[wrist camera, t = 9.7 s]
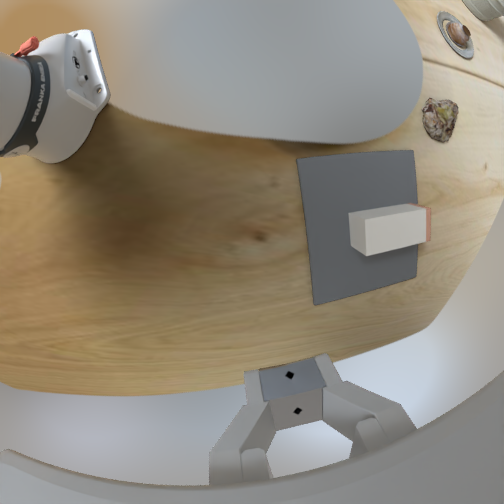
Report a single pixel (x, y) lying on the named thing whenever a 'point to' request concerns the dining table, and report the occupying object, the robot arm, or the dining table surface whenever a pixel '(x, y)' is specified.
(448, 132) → the mineral rock
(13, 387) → the dining table surface
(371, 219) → the cream block
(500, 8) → the jar
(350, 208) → the rubber mat
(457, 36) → the pastry
